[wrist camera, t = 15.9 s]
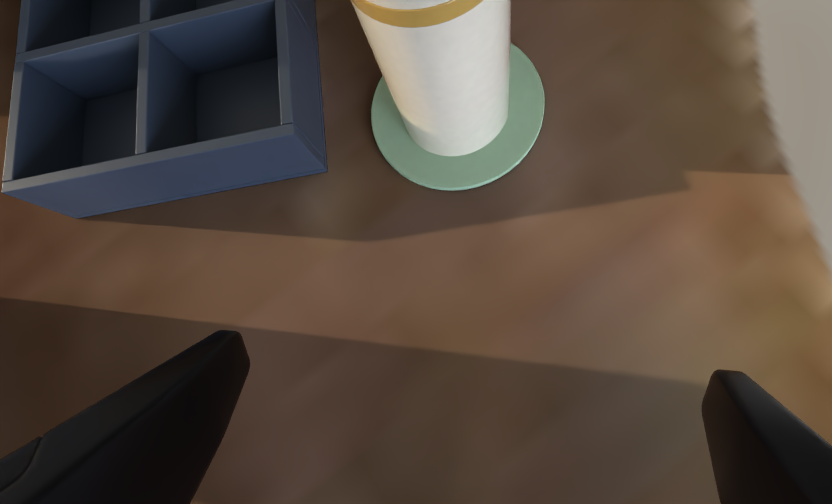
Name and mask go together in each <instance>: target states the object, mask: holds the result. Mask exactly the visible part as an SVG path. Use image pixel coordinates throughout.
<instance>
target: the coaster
mask: <svg viewBox="0 0 832 504" xmlns="http://www.w3.org/2000/svg"><path fill="white" fill-rule="evenodd" d="M544 105H545V99H544V90H543V86H542V82H541V79H540V77H539V74H538V72H537V70H536V68H535V67H534V65H533V64H532V62H531V61H530V60H529V58H528V57H527V56H526V55H525V54H524V53H523V52H522V51H521V50H520V49H519V48H518V47H516V46H515V45H513V44H512V43H511V45H510V108H509V114H508V117H507V120H506V122H505V124H504V126H503V128H502V130H501V131H500V132H499V134H498V135H497V136H496V137H495V138H494V139H493V140H492V141H491V142H490V143H488V144H487V145H486V146H484V147H483V148H481V149H479V150H477V151H475V152H472V153H469V154H466V155H461V156H441V155H437V154H434V153H431V152H428V151H426V150H424V149H423V148H421V147H420V146H418V145H417V144H416V143H415V142H414V141H413V140H412V139H411V138H410V136H409V135H408V133H407V131H406V130H405V127H404V125H403V122H402V120H401V118H400V115H399V113H398V111H397V108H396V106H395V104H394V101H393V99H392V97H391V94H390V92H389V90H388V87H387V85H386V83H385V80H384V78H383V76H382V78H381V79H380V81H379V83H378V86H377V88H376V90H375V94H374V97H373V101H372V108H371V124H372V130H373V134H374V137H375V141H376V143H377V145H378V147H379V149H380V151H381V153H382V154H383V156H384V157H385V159H386V160H387V162H388V163H389V164H390V165H391V166H392V167H393V168H394V169H395V170H396V171H397V172H399V173H400V174H401V175H402V176H404V177H406V178H407V179H409V180H410V181H412V182H415V183H417V184H419V185H422V186H425V187H428V188H432V189H438V190H452V191H455V190H466V189H470V188H475V187H479V186H482V185H485V184H488V183H490V182H492V181H494V180H496V179H498V178H500V177H501V176H503V175H504V174H506V173H508V172H509V171H510V170H512V169H513V168H514V167H515V166H516V165H517V164H519V162H520V161H521V160H522V159H523V158H524V157H525V156H526V155H527V153H528V152H529V150H530V149H531V148H532V146H533V144H534V142H535V141H536V139H537V137H538V134H539V131H540V129H541V126H542V121H543V116H544Z"/></svg>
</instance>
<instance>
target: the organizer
mask: <svg viewBox="0 0 832 504" xmlns="http://www.w3.org/2000/svg"><path fill="white" fill-rule="evenodd" d="M327 171H328V170H327V157H326V144H325V131H324V118H323V105H322V92H321V78H320V65H319V52H318V39H317V26H316V13H315V0H21V9H20V19H19V29H18V38H17V48H16V58H15V66H14V76H13V86H12V95H11V105H10V115H9V124H8V134H7V144H6V153H5V163H4V173H3V183H2V193H3V194H6V195H9V196H12V197H15V198H18V199H21V200H24V201H27V202H29V203H32V204H35V205H38V206H41V207H44V208H47V209H50V210H53V211H55V212H58V213H61V214H64V215H67V216H71V217H72V218H75V219H77V218H82V217H88V216H93V215H98V214H104V213H109V212H114V211H120V210H125V209H130V208H136V207H141V206H146V205H152V204H157V203H162V202H168V201H173V200H178V199H184V198H189V197H194V196H200V195H205V194H210V193H216V192H221V191H226V190H232V189H237V188H242V187H248V186H253V185H258V184H264V183H269V182H274V181H280V180H285V179H290V178H296V177H301V176H306V175H312V174H317V173H322V172H327Z"/></svg>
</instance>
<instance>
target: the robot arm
mask: <svg viewBox="0 0 832 504" xmlns="http://www.w3.org/2000/svg"><path fill="white" fill-rule="evenodd" d="M249 368H250V360H249V356H248V353H247V350H246V347H245V344H244V341H243V339H242V336H241V334H240V333H239V332H237V331H230V330H219V331H217V332H215V333H213V334H212V335H210V336H208V337H206V338H205V339H203V340H201V341H200V342H198V343H196V344H195V345H193V346H191V347H190V348H188V349H186V350H185V351H183V352H181V353H179V354H178V355H176V356H174V357H173V358H171V359H169V360H168V361H166V362H164V363H163V364H161V365H159V366H158V367H156V368H154V369H152V370H151V371H149V372H147V373H146V374H144V375H142V376H141V377H139V378H137V379H136V380H134V381H132V382H131V383H129V384H127V385H125V386H124V387H122V388H120V389H119V390H117V391H115V392H114V393H112V394H110V395H109V396H107V397H105V398H104V399H102V400H100V401H98V402H97V403H95V404H93V405H92V406H90V407H88V408H87V409H85V410H83V411H82V412H80V413H78V414H77V415H75V416H73V417H71V418H70V419H68V420H66V421H65V422H63V423H61V424H60V425H58V426H56V427H55V428H53V429H51V430H49V431H48V432H46V433H45V434H44V435H43V436H42V437H37V438H36V439H34V440H32V441H31V442H29V443H27V444H26V445H24V446H22V447H21V448H19V449H17V450H16V451H14V452H12V453H10V454H9V455H7V456H5V457H3V458H2V459H0V504H190V503H191V501H192V499H193V497H194V495H195V493H196V491H197V489H198V487H199V485H200V483H201V481H202V479H203V477H204V475H205V473H206V471H207V469H208V467H209V465H210V463H211V461H212V459H213V457H214V455H215V453H216V451H217V449H218V447H219V445H220V443H221V441H222V439H223V436H224V434H225V432H226V429H227V427H228V424H229V422H230V419H231V416H232V414H233V411H234V409H235V406H236V403H237V401H238V398H239V395H240V393H241V390H242V388H243V385H244V382H245V380H246V377H247V375H248V372H249ZM702 417H703V421H704V426H705V431H706V436H707V441H708V446H709V451H710V456H711V461H712V465H713V470H714V475H715V480H716V485H717V489H718V494H719V498H720V502H721V504H832V446H831V445H830V444H829V443H828V442H827V441H825V440H824V439H823V438H822V437H821V436H819V435H818V434H817V433H816V432H815V431H813V430H812V429H811V428H810V427H809V426H807V425H806V424H805V423H804V422H803V421H801V420H800V419H799V418H798V417H797V416H795V415H794V414H793V413H792V412H791V411H789V410H788V409H787V408H786V407H785V406H783V405H782V404H781V403H780V402H778V401H777V400H776V399H775V398H774V397H772V396H771V395H770V394H769V393H768V392H766V391H765V390H764V389H763V388H762V387H760V386H759V385H758V384H757V383H756V382H754V381H753V380H752V379H751V378H750V377H748V376H747V375H746V374H744V373H743V372H740V371H731V370H716V371H714V372H713V374H712V376H711V379H710V381H709V384H708V387H707V390H706V393H705V396H704V399H703V402H702Z"/></svg>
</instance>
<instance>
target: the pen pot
mask: <svg viewBox="0 0 832 504" xmlns="http://www.w3.org/2000/svg"><path fill="white" fill-rule="evenodd" d="M351 3H352V5H353V7H354V10H355V12H356V14H357V17H358V19H359V21H360V24H361V26H362V29H363V31H364V33H365V36H366V38H367V40H368V43H369V45H370V47H371V50H372V52H373V54H374V57H375V59H376V61H377V64H378V66H379V68H380V71H381V73H382V75H383V78H384V80H385V83H386V85H387V87H388V90H389V92H390V94H391V97H392V99H393V101H394V104H395V106H396V108H397V111H398V113H399V115H400V118H401V120H402V122H403V125H404V127H405V130H406V131H407V133H408V135H409V136H410V138H411V139H412V140H413V141H414V142H415V143H416V144H417V145H418V146H420V147H421V148H423V149H424V150H426V151H428V152H431V153H434V154H437V155H441V156H461V155H466V154H469V153H472V152H475V151H477V150H479V149H481V148H483V147H484V146H486V145H487V144H488V143H490V142H491V141H492V140H493V139H494V138H495V137H496V136H497V135H498V134H499V132H500V131H501V130H502V128H503V126H504V124H505V122H506V120H507V117H508V114H509V108H510V45H511V0H351Z"/></svg>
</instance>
